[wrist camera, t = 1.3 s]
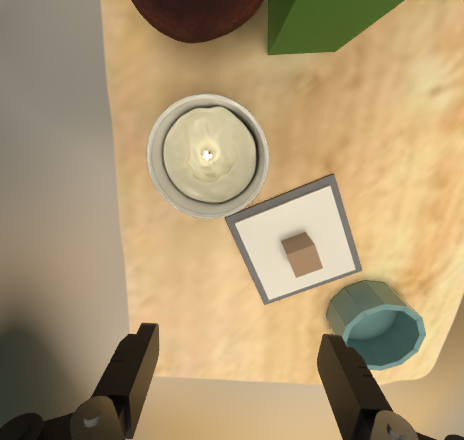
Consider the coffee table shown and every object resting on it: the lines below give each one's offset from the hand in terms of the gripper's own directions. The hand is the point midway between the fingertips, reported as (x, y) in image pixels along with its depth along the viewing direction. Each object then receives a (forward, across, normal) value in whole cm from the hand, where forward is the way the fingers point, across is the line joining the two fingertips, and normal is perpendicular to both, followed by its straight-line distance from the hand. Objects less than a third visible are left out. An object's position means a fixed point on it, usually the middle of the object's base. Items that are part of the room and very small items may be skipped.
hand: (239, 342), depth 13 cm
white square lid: (+23, -9, +5) cm, 25 cm away
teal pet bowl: (+23, -21, +15) cm, 35 cm away
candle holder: (+23, +3, -7) cm, 25 cm away
